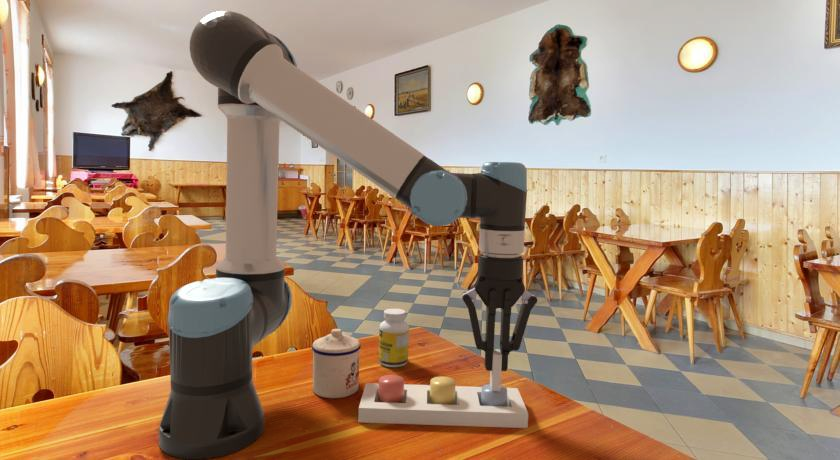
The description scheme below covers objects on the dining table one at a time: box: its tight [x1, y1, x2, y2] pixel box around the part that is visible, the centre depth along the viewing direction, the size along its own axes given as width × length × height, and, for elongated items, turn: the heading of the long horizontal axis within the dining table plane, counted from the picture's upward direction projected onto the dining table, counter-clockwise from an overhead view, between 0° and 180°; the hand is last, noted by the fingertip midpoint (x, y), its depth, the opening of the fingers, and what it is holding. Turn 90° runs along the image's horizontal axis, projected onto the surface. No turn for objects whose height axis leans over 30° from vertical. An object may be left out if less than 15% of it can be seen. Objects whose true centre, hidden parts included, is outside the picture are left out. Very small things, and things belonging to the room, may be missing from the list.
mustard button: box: [429, 376, 457, 405], centre depth 87 cm, size 4×4×4 cm
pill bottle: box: [378, 308, 410, 368], centre depth 109 cm, size 6×6×12 cm
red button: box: [378, 374, 405, 403], centre depth 87 cm, size 4×4×4 cm
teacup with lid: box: [311, 328, 361, 399], centre depth 96 cm, size 12×9×12 cm
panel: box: [357, 382, 529, 429], centre depth 87 cm, size 28×10×2 cm, turn 89°
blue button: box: [480, 383, 507, 407], centre depth 87 cm, size 4×4×4 cm
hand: (495, 387), depth 87 cm, fingers closed
